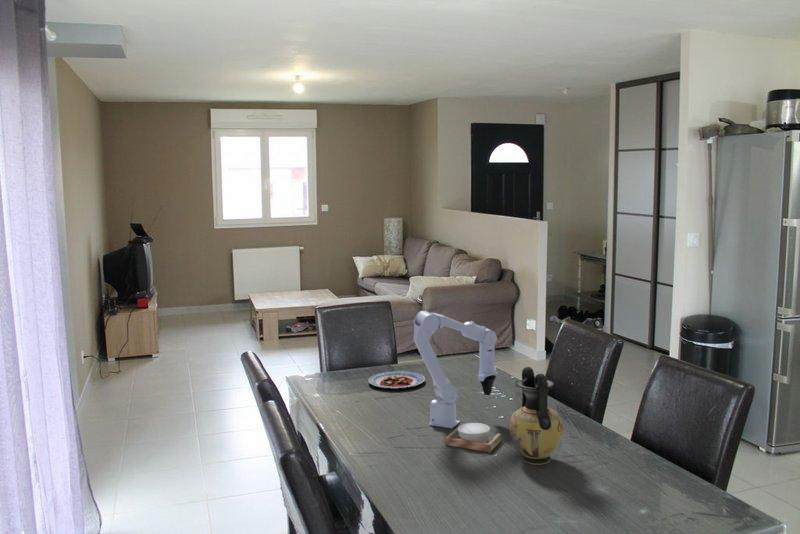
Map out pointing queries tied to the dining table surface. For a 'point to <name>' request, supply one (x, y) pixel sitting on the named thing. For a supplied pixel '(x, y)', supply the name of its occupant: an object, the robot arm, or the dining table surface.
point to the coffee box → (518, 396)
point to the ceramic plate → (396, 379)
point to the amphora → (535, 420)
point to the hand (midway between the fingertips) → (487, 394)
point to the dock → (471, 442)
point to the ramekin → (474, 432)
